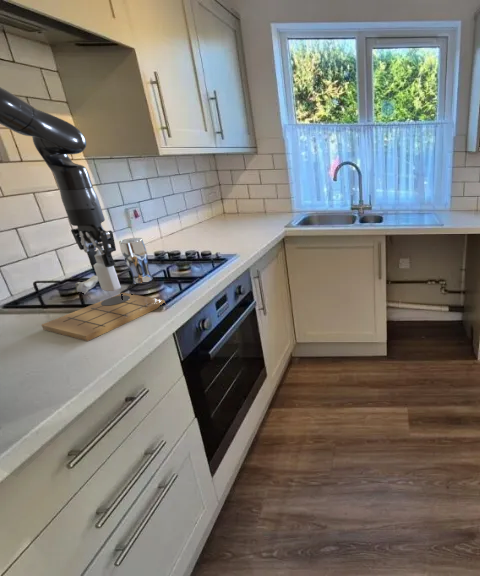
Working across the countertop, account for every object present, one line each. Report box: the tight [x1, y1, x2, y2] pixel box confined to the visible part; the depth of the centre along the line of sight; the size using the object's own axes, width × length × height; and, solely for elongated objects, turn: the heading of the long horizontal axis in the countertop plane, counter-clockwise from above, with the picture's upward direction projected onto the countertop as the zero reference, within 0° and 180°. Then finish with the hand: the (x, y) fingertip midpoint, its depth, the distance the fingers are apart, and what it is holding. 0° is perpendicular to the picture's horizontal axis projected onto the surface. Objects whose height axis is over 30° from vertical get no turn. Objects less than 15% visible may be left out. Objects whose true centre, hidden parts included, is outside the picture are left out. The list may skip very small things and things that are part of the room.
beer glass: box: [118, 237, 154, 285], centre depth 123 cm, size 7×7×15 cm
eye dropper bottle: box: [93, 249, 122, 292], centre depth 104 cm, size 4×6×12 cm
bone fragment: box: [74, 275, 99, 295], centre depth 120 cm, size 5×11×4 cm, turn 18°
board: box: [41, 292, 166, 342], centre depth 101 cm, size 22×18×2 cm
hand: (103, 265), depth 103 cm, fingers closed on eye dropper bottle, 5 cm apart
